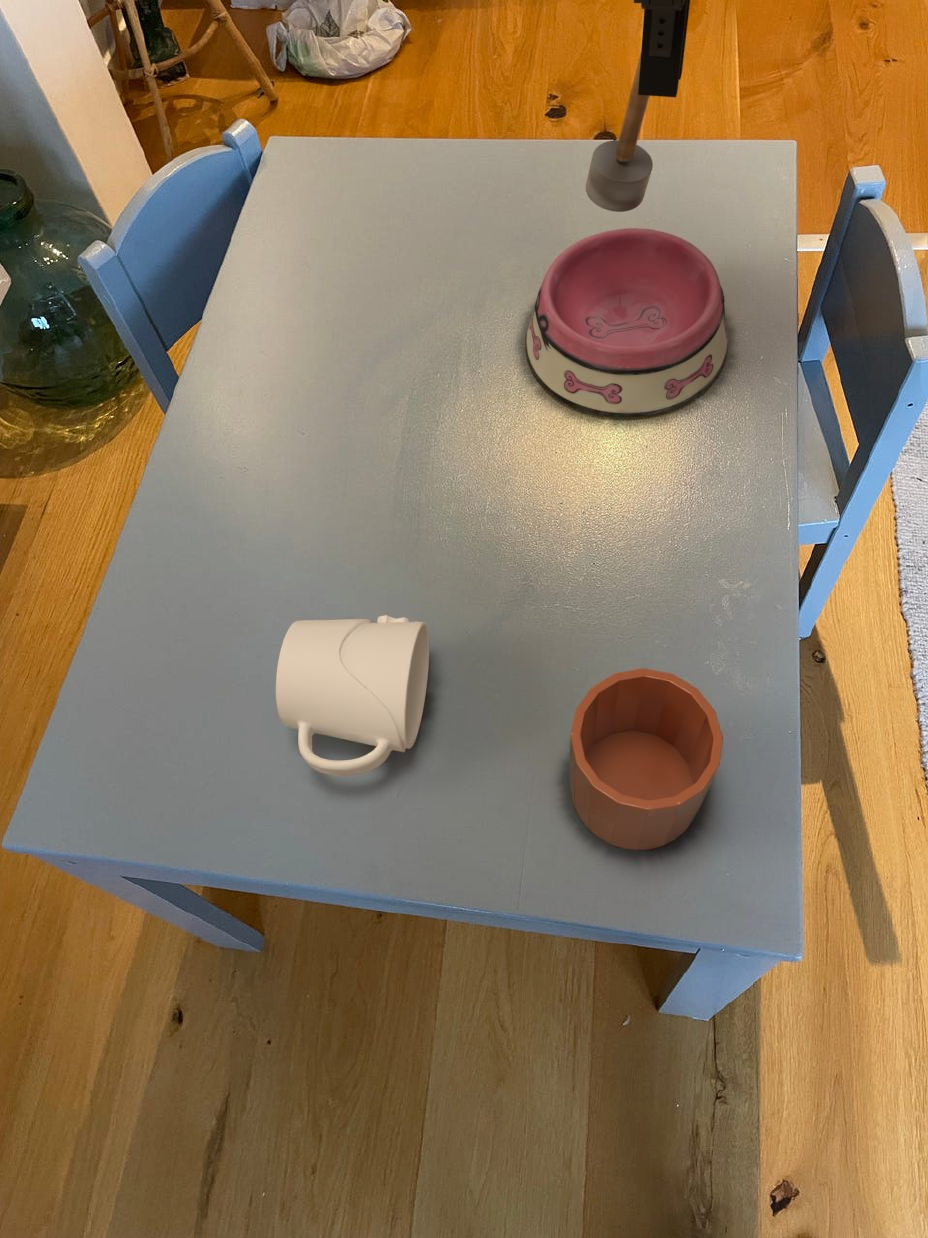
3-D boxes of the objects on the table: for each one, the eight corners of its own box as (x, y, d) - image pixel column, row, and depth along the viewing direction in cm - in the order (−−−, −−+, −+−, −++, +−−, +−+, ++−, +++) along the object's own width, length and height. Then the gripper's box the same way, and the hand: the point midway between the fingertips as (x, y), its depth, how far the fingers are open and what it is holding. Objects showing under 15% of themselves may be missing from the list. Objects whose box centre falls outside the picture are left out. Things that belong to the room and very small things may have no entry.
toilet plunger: (648, 178, 76) (736, -118, 57) (638, 218, 74) (725, -77, 55) (592, 164, 76) (661, -136, 57) (579, 203, 74) (647, -96, 55)
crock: (708, 740, 68) (730, 684, 59) (690, 863, 64) (711, 823, 55) (583, 715, 69) (587, 657, 61) (558, 833, 65) (558, 790, 57)
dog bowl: (513, 287, 91) (510, 228, 85) (702, 260, 91) (712, 199, 85) (540, 433, 82) (538, 379, 76) (749, 404, 82) (764, 348, 76)
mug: (319, 640, 74) (294, 591, 67) (434, 649, 73) (421, 600, 66) (286, 784, 69) (255, 746, 62) (409, 797, 68) (392, 760, 61)
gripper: (651, -430, 50) (625, 23, 71) (602, -319, 44) (589, 143, 64) (795, -437, 49) (725, 28, 69) (766, -322, 42) (699, 152, 63)
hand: (660, 83), depth 67 cm, fingers closed on toilet plunger
